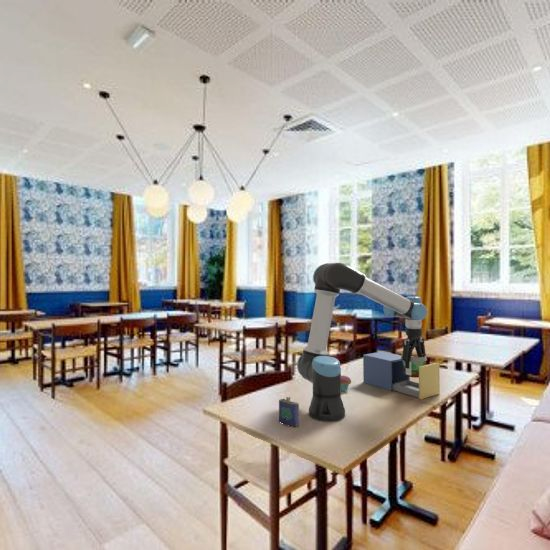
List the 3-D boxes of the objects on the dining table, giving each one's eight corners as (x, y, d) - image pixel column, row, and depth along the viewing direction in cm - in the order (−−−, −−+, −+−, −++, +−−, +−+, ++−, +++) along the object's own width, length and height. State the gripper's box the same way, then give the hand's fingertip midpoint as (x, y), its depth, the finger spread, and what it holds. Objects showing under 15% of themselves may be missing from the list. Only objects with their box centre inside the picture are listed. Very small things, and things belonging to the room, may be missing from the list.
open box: (390, 390, 190) (390, 360, 190) (363, 382, 205) (363, 354, 205) (409, 385, 198) (409, 357, 198) (382, 378, 213) (381, 351, 213)
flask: (300, 426, 146) (299, 398, 146) (295, 428, 143) (295, 400, 144) (281, 420, 152) (280, 394, 152) (276, 422, 149) (276, 395, 149)
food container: (400, 377, 186) (400, 356, 186) (400, 373, 191) (400, 354, 191) (427, 379, 181) (427, 358, 181) (427, 375, 187) (426, 355, 187)
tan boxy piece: (420, 399, 175) (420, 367, 175) (390, 390, 190) (390, 360, 190) (439, 393, 184) (439, 362, 184) (409, 385, 198) (409, 356, 198)
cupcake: (331, 390, 190) (331, 367, 190) (337, 386, 198) (337, 363, 198) (348, 393, 186) (348, 368, 186) (353, 388, 194) (353, 365, 194)
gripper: (406, 330, 178) (407, 378, 178) (433, 326, 190) (433, 371, 190) (393, 328, 184) (394, 375, 184) (420, 325, 196) (420, 368, 196)
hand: (414, 373), depth 187 cm, fingers closed on food container, 8 cm apart
